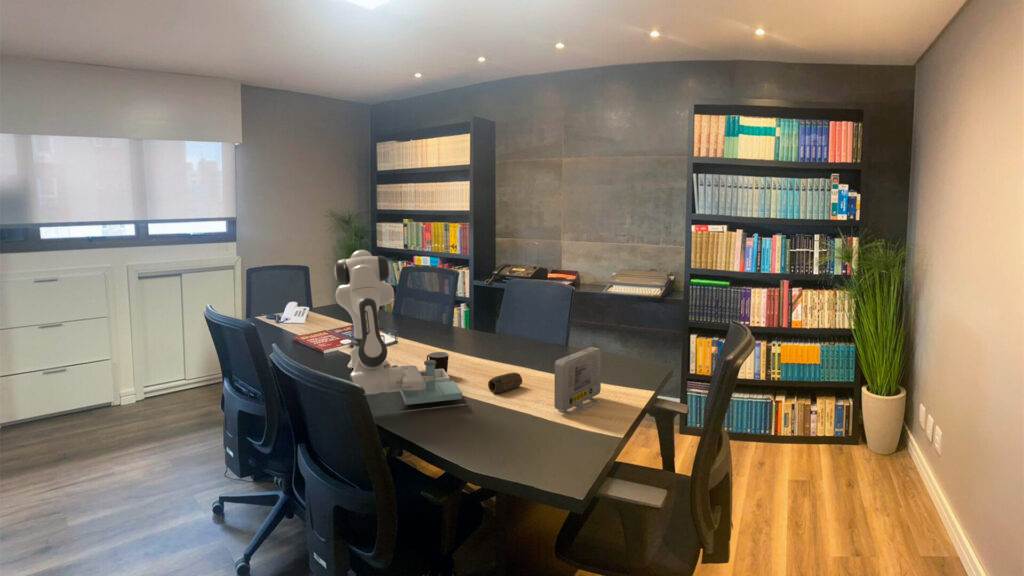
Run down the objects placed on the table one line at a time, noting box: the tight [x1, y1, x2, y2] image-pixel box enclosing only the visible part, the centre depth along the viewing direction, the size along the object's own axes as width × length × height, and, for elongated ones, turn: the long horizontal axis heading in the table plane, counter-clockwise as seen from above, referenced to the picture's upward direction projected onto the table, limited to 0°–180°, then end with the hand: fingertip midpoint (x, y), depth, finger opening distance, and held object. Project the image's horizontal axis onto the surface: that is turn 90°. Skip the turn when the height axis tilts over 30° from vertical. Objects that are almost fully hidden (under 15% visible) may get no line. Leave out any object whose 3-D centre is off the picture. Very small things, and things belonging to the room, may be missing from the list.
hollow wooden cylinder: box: [487, 372, 523, 394], centre depth 247 cm, size 15×7×7 cm, turn 139°
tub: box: [422, 369, 451, 384], centre depth 248 cm, size 13×19×6 cm
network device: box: [553, 346, 602, 416], centre depth 227 cm, size 26×9×20 cm, turn 141°
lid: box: [400, 359, 463, 406], centre depth 230 cm, size 15×21×13 cm
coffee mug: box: [426, 351, 450, 374], centre depth 265 cm, size 12×9×10 cm
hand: (432, 375), depth 230 cm, fingers closed on lid, 3 cm apart
